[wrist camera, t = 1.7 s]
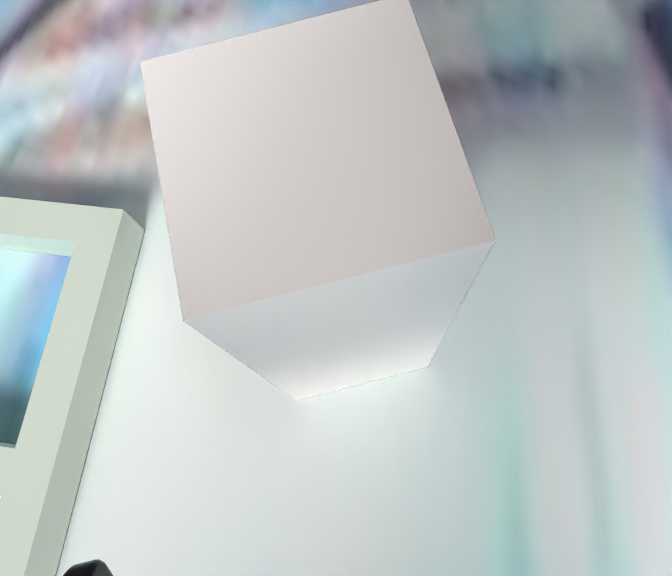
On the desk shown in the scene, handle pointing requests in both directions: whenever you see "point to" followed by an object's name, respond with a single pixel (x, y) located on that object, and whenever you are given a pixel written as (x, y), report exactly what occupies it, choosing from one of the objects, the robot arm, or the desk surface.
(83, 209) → the socket board
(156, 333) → the desk surface
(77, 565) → the robot arm
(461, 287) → the white upright block
